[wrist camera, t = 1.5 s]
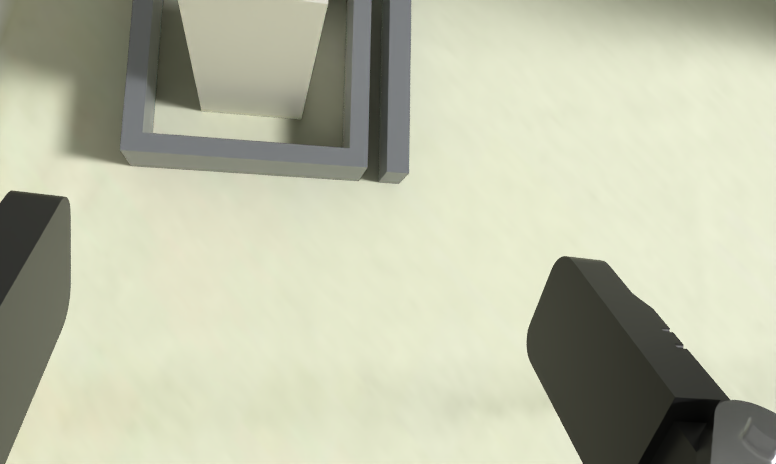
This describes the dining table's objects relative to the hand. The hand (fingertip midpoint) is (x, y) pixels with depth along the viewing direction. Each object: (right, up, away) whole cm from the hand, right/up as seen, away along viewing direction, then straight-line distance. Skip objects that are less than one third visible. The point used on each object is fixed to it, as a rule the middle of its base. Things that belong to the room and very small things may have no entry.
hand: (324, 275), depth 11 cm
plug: (-5, +8, +20) cm, 22 cm away
